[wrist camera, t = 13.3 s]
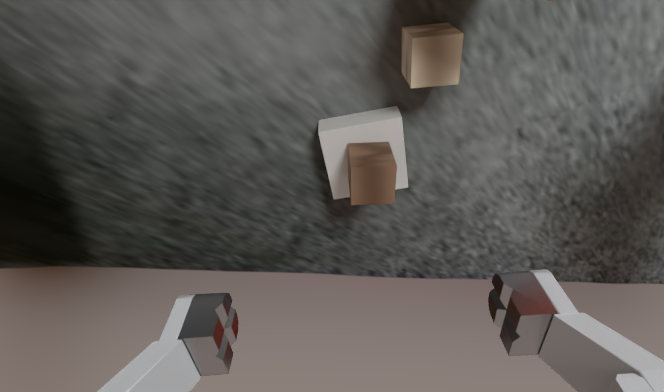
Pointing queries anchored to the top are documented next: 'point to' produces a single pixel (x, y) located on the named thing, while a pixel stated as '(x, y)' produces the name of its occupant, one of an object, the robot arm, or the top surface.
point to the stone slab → (360, 130)
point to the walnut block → (371, 173)
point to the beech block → (431, 55)
